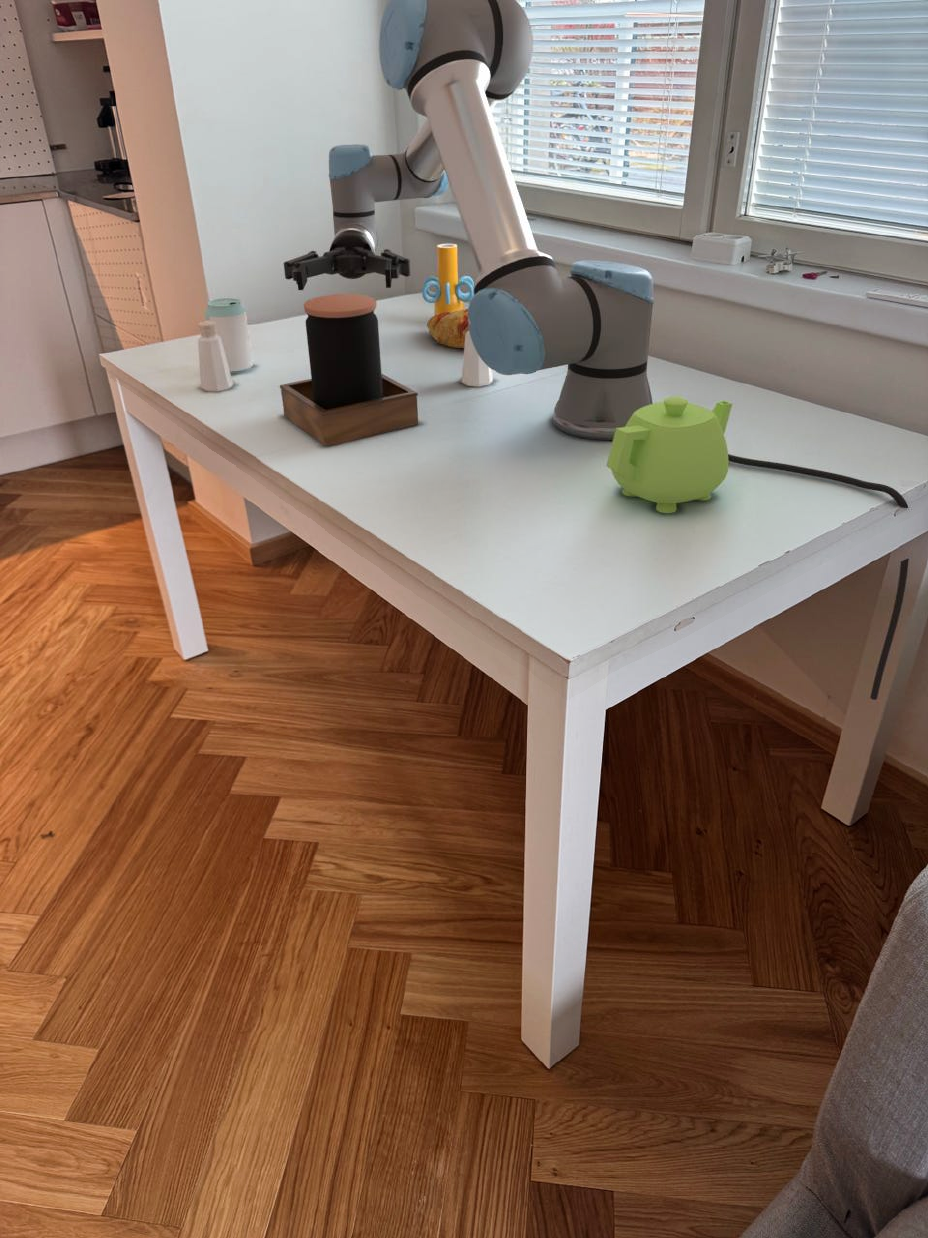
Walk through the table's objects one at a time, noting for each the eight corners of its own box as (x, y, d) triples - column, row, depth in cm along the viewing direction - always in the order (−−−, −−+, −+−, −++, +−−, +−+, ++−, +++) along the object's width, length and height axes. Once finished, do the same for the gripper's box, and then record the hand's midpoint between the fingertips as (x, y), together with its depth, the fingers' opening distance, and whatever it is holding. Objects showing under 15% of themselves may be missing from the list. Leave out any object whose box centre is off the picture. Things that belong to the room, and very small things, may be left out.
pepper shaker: (480, 388, 158) (479, 322, 153) (455, 383, 161) (453, 318, 155) (499, 380, 162) (499, 315, 156) (473, 375, 165) (473, 311, 159)
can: (242, 361, 175) (233, 294, 169) (260, 369, 170) (251, 301, 164) (207, 368, 171) (196, 301, 165) (224, 377, 167) (213, 308, 160)
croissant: (419, 351, 190) (402, 319, 184) (452, 319, 192) (436, 286, 186) (488, 372, 175) (471, 338, 170) (523, 338, 178) (508, 303, 172)
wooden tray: (419, 424, 145) (417, 392, 142) (325, 446, 138) (322, 413, 135) (372, 397, 156) (369, 366, 153) (283, 416, 149) (279, 384, 146)
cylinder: (474, 329, 191) (473, 251, 183) (422, 329, 191) (419, 251, 183) (474, 313, 201) (473, 239, 193) (426, 314, 201) (423, 240, 193)
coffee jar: (385, 407, 151) (378, 292, 142) (383, 431, 142) (374, 310, 133) (319, 409, 151) (307, 294, 142) (312, 433, 142) (299, 312, 133)
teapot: (684, 459, 131) (694, 370, 124) (760, 491, 121) (775, 396, 114) (573, 496, 121) (578, 401, 114) (646, 533, 112) (656, 432, 105)
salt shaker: (232, 380, 165) (222, 316, 159) (234, 390, 161) (224, 324, 155) (200, 383, 164) (189, 319, 158) (201, 393, 159) (190, 327, 154)
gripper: (425, 272, 165) (425, 302, 147) (283, 276, 165) (266, 306, 147) (423, 227, 161) (423, 252, 143) (277, 230, 161) (259, 256, 143)
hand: (343, 279), depth 145 cm, fingers open, 13 cm apart
